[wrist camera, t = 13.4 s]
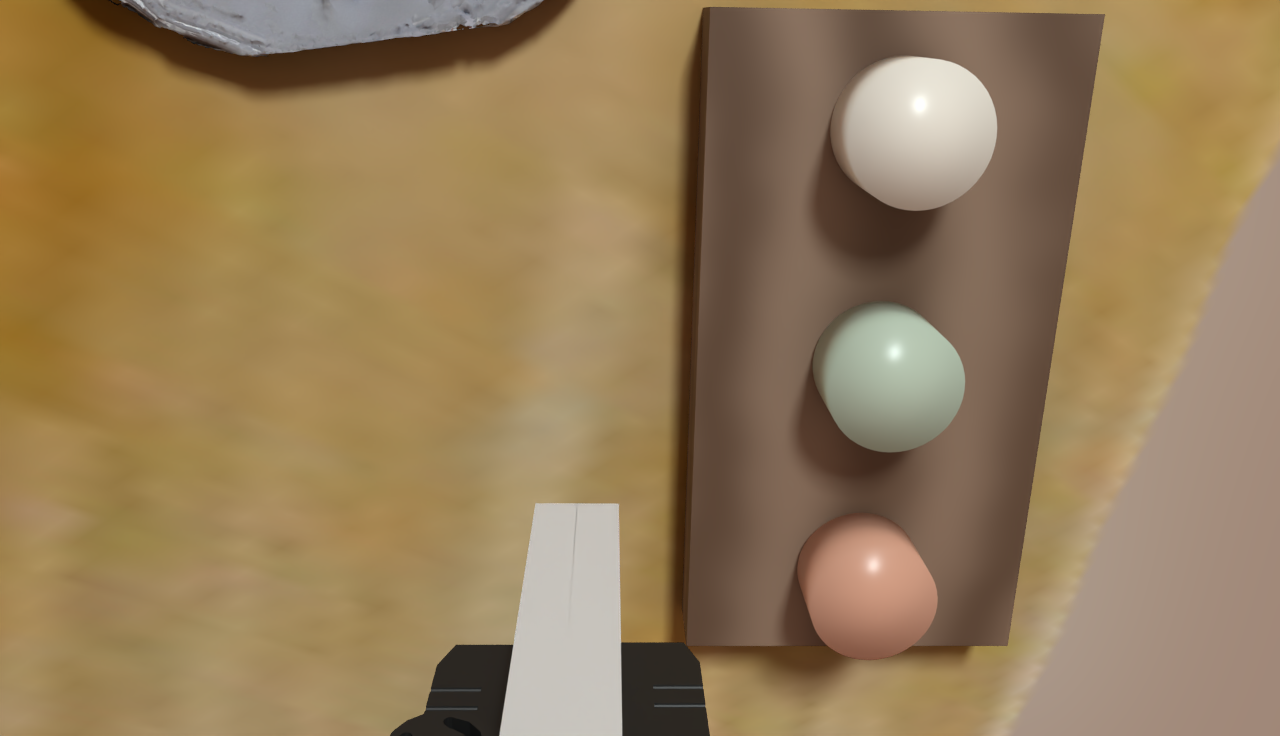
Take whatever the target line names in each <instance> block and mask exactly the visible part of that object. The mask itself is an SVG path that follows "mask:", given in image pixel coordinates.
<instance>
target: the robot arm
mask: <svg viewBox="0 0 1280 736" xmlns="http://www.w3.org/2000/svg"><path fill="white" fill-rule="evenodd" d="M390 736H710V734H709V727H708V719H707V712H706V708H705V698H704V690H703V683H702V676H701V668H700V662H699V661H698V660H697V658H696V657H695V656H694V655H693V653H692V652H691V651H690V650H689V649H688V647H687V646H686V645H685V644H684V643H621V620H620V554H619V504H570V503H536V504H535V510H534V517H533V523H532V530H531V536H530V542H529V549H528V555H527V562H526V568H525V574H524V581H523V587H522V594H521V600H520V607H519V613H518V619H517V626H516V632H515V639H514V645H456V646H455V647H454V648H453V649H452V650H451V651H450V652H449V653H448V654H447V655H446V656H445V657H444V658H443V659H442V660H441V662H440V663H439V664H438V665H437V668H436V672H435V675H434V679H433V683H432V686H431V692H430V694H429V698H428V701H427V705H426V711H425V712H424V714H423V715H420V716H418V717H415V718H413V719H410V720H407V721H406V722H405V723H403V724H402V725H401V726H399V727H398V728H397V729H395V730H394V731H393V732H392V733H391V735H390Z"/></svg>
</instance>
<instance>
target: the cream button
mask: <svg viewBox="0 0 1280 736" xmlns="http://www.w3.org/2000/svg"><path fill="white" fill-rule="evenodd" d="M830 136H831V145H832V149H833V153H834V155H835V158H836V160H837V162H838V164H839V166H840V168H841V169H842V171H843V172H844V173H845V175H846V176H847V177H848V178H849V179H850V180H851V181H852V182H854V183H855V184H856V185H858V186H859V187H860V188H862V189H863V190H865V191H866V192H868V193H869V194H871V195H872V196H874V197H875V198H877V199H878V200H880V201H881V202H883V203H885V204H887V205H889V206H892V207H895V208H898V209H903V210H911V211H922V210H929V209H934V208H938V207H941V206H944V205H946V204H948V203H950V202H952V201H954V200H956V199H957V198H959V197H961V196H962V195H963V194H964V193H966V192H967V191H968V190H969V189H970V188H971V187H972V186H973V185H974V184H975V183H976V182H977V181H978V180H979V178H980V177H981V176H982V174H983V173H984V171H985V169H986V168H987V166H988V164H989V162H990V160H991V157H992V154H993V151H994V148H995V143H996V138H997V117H996V112H995V108H994V105H993V102H992V99H991V97H990V95H989V93H988V91H987V90H986V88H985V87H984V85H983V84H982V83H981V82H980V81H979V79H978V78H977V77H976V76H975V75H973V74H972V73H971V72H970V71H968V70H967V69H965V68H963V67H961V66H960V65H957V64H955V63H952V62H949V61H945V60H941V59H933V58H925V57H917V56H894V57H889V58H885V59H882V60H879V61H877V62H875V63H873V64H871V65H869V66H867V67H866V68H864V69H863V70H861V71H860V72H859V73H858V74H857V75H855V76H854V77H853V78H852V80H851V81H850V82H849V83H848V84H847V85H846V87H845V88H844V90H843V91H842V93H841V95H840V96H839V98H838V100H837V103H836V105H835V108H834V111H833V115H832V119H831V127H830Z"/></svg>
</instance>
